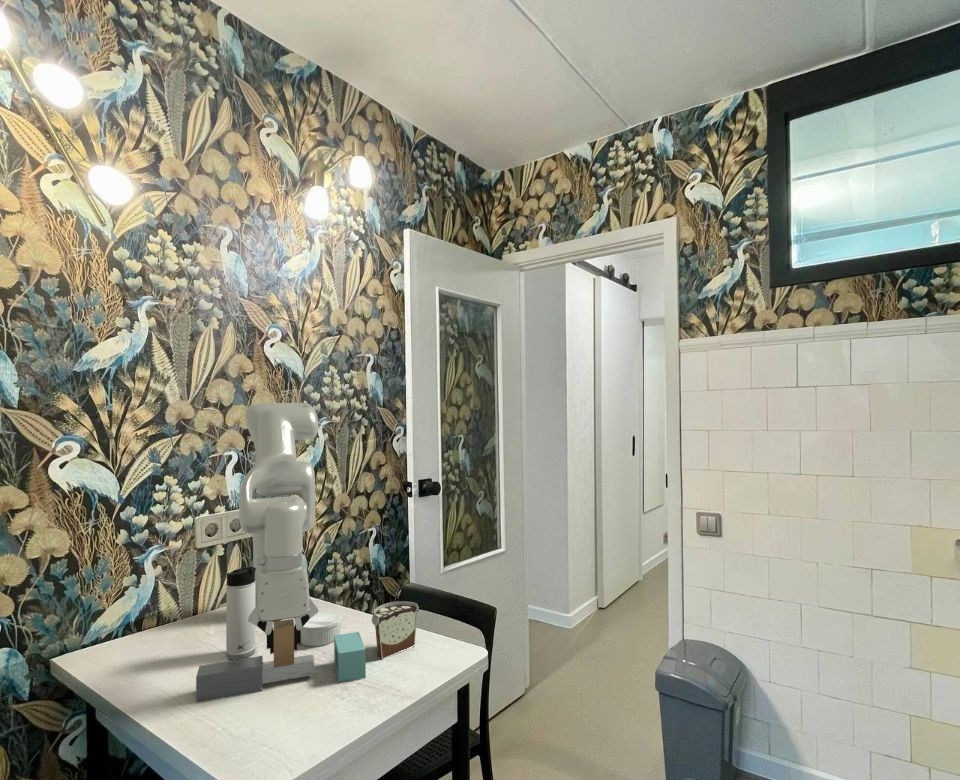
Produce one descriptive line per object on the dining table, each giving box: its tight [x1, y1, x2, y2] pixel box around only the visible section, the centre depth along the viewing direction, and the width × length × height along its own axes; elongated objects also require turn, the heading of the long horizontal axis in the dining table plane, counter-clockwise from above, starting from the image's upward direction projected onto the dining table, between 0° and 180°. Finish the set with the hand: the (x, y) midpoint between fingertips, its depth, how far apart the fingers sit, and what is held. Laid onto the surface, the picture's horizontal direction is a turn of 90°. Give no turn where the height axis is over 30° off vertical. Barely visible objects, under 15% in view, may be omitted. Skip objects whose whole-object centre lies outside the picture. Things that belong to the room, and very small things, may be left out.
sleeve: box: [195, 655, 264, 703], centre depth 112 cm, size 12×5×5 cm, turn 110°
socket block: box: [333, 631, 367, 683], centre depth 120 cm, size 6×10×6 cm, turn 20°
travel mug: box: [225, 566, 256, 661], centre depth 129 cm, size 6×7×20 cm
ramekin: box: [301, 609, 343, 648], centre depth 137 cm, size 11×11×5 cm
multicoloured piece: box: [262, 618, 315, 685], centre depth 115 cm, size 19×4×11 cm, turn 110°
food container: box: [371, 600, 420, 660], centre depth 131 cm, size 12×6×10 cm, turn 135°
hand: (283, 648), depth 116 cm, fingers closed on multicoloured piece, 4 cm apart
